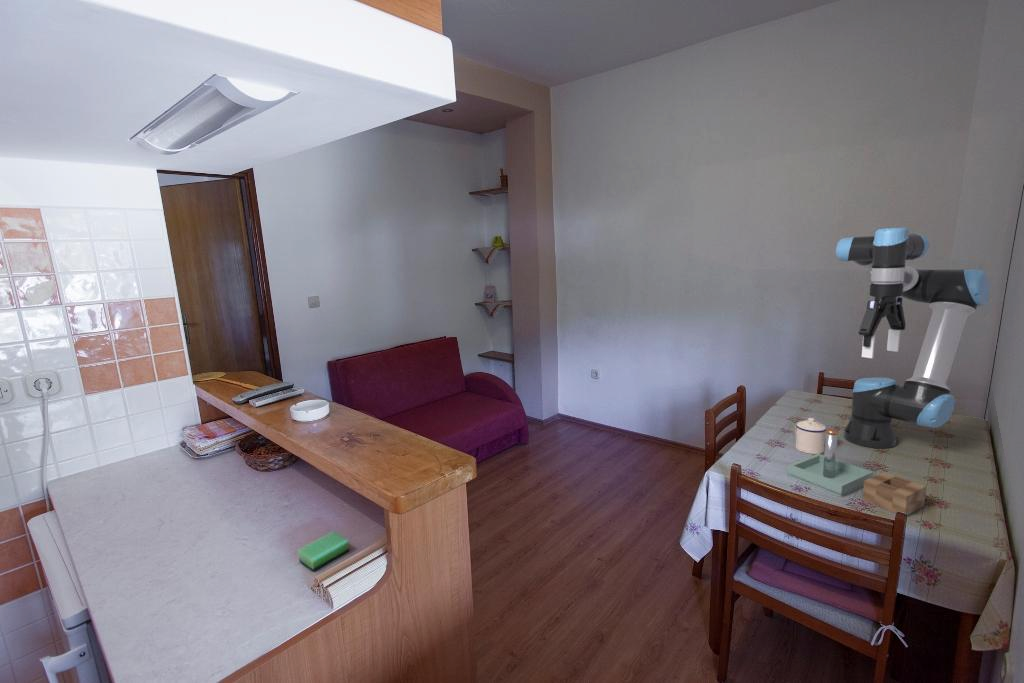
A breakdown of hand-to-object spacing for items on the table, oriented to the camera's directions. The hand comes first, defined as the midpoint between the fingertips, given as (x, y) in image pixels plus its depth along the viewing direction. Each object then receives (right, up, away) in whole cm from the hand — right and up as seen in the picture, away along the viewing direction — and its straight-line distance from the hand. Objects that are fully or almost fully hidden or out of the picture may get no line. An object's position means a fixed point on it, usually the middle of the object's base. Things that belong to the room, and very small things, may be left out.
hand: (880, 354), depth 138 cm
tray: (-12, -39, +6) cm, 41 cm away
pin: (-12, -38, +6) cm, 40 cm away
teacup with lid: (-4, -35, +28) cm, 45 cm away
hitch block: (-4, -41, -9) cm, 42 cm away
